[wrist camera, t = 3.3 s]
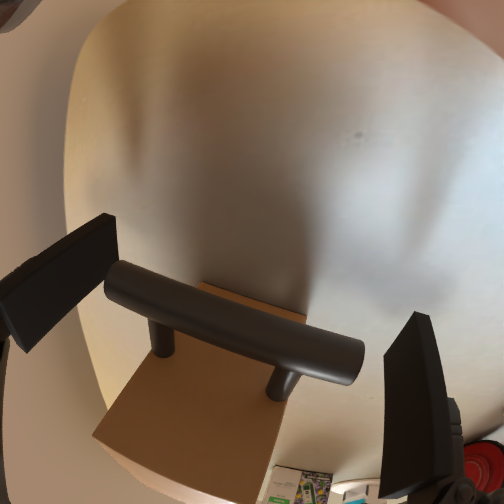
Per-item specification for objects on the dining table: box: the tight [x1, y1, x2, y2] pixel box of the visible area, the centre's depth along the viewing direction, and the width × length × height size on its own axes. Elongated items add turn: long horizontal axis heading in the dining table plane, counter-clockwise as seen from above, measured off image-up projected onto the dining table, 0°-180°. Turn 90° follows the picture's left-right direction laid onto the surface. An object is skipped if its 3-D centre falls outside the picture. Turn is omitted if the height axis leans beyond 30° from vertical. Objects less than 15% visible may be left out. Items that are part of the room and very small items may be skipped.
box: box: [92, 260, 365, 504], centre depth 13 cm, size 10×9×16 cm
